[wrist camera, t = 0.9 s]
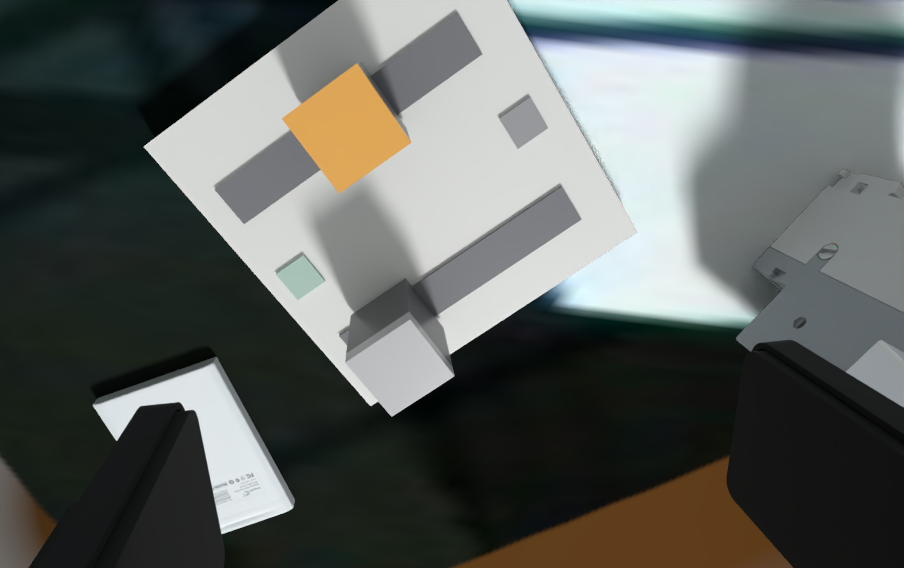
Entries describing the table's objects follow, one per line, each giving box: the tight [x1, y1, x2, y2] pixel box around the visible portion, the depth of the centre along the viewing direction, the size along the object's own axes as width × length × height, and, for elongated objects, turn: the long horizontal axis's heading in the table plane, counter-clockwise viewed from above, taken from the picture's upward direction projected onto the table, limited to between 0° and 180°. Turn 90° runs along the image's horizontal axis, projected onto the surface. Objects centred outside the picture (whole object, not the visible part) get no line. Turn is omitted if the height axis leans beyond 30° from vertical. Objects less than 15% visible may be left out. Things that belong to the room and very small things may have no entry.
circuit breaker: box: [736, 169, 904, 407], centre depth 34 cm, size 8×14×15 cm, turn 142°
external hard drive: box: [93, 357, 295, 534], centre depth 41 cm, size 2×8×12 cm
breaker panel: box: [144, 0, 637, 406], centre depth 35 cm, size 20×20×2 cm
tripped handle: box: [282, 62, 411, 193], centre depth 29 cm, size 4×4×6 cm
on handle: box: [345, 278, 454, 416], centre depth 33 cm, size 4×4×6 cm
